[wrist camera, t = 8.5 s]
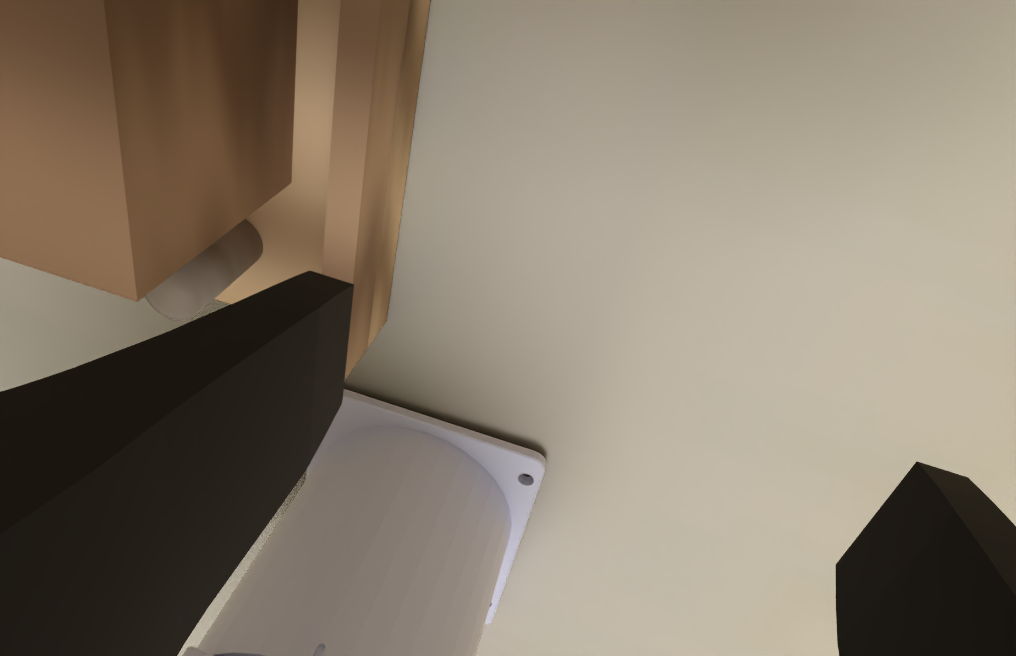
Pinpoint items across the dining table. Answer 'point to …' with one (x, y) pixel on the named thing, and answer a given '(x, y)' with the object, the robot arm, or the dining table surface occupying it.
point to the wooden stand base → (329, 170)
